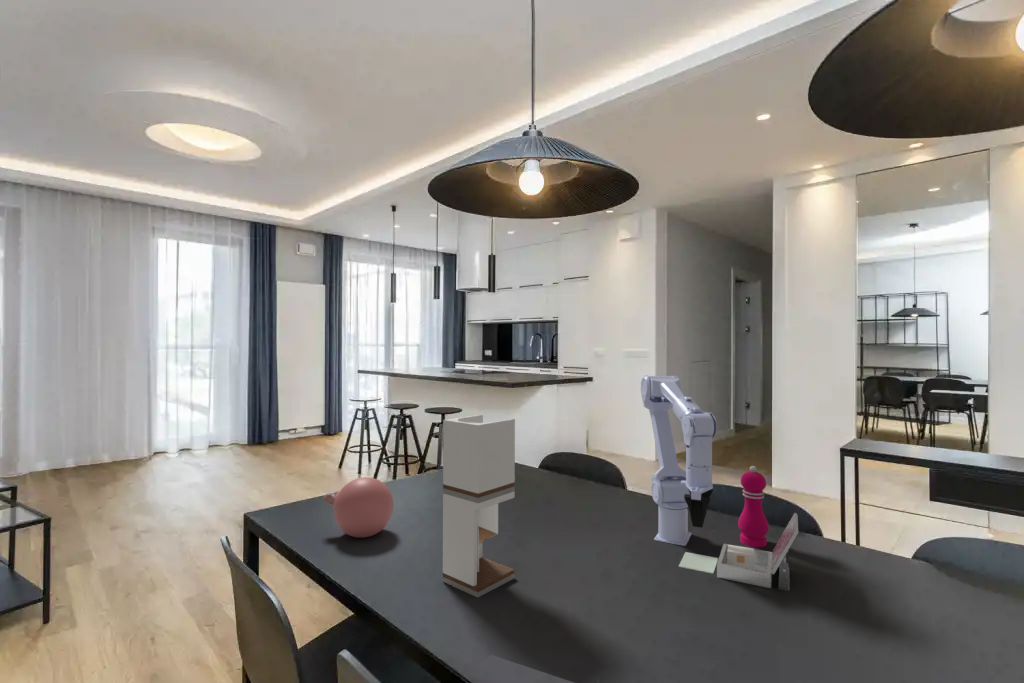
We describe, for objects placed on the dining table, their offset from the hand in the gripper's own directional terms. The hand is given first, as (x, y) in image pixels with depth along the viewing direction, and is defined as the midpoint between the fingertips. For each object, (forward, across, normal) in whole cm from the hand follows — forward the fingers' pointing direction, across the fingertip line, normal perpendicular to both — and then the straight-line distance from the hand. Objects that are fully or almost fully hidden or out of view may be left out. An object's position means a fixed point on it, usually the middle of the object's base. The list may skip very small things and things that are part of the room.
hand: (698, 522), depth 120 cm
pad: (+10, 0, 0) cm, 10 cm away
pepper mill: (+10, -19, +12) cm, 25 cm away
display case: (+10, +30, -42) cm, 53 cm away
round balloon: (+10, +21, -85) cm, 88 cm away
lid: (+6, 0, +15) cm, 17 cm away
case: (+10, 0, +10) cm, 14 cm away
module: (+9, 0, +9) cm, 13 cm away
